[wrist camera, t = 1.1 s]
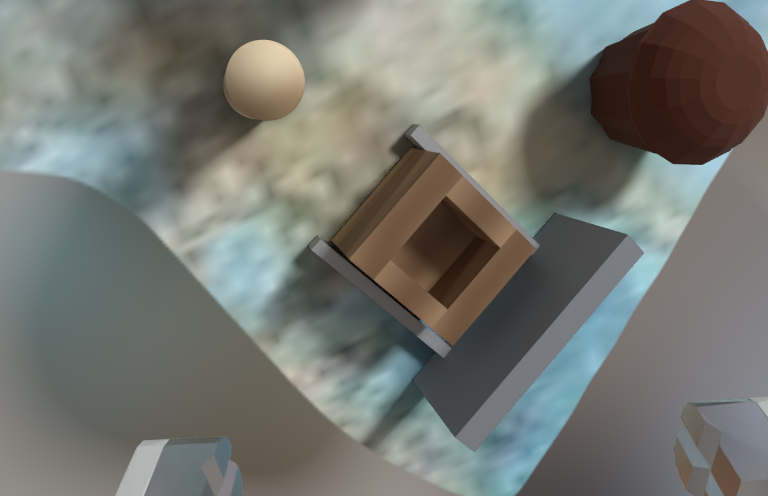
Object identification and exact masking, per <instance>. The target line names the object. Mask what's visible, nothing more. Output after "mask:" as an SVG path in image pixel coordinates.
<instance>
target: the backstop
mask: <svg viewBox="0 0 768 496" xmlns="http://www.w3.org/2000/svg"><path fill="white" fill-rule="evenodd" d="M404 135H405V136H406V137H407V138H408V139H409V140H410V141H411V142H412V143H413V144H414V145H415V146H416V147H417V148H418V149H420V150H425V151H431V152H437V153H441V154H442V155H443V156H444V157H445V158H446V159H447V160H448V161H449V162H450V163H451V164H452V165H453V166H454V167H455V168H456V169H457V170H458V171H459V172H460V173H461V174H462V175H463V176H464V177H465V178H466V179H467V180H468V181H469V182H470V183H471V184H472V185H473V186H474V187H475V188H476V189H477V190H478V191H479V192H480V193H481V194H482V195H483V196H484V197H485V198H486V199H487V200H488V201H489V202H490V203H491V204H492V205H493V206H494V207H495V208H496V209H497V210H498V211H499V212H500V213H501V214H502V215H503V216H504V217H505V218H506V219H507V220H508V221H509V222H510V223H511V224H512V225H513V226H514V227H515V228H516V229H517V230H518V231H519V232H520V233H521V234H522V235H523V236H524V237H525V238H526V239H527V240H528V241H529V242H530V243H531V244H532V245H533V246H534V247H535V248H536V250H535V251H534V252H533V253H532V254H531V255H530V257H529V258H528V259H527V260H526V261H525V262H524V264H523V265H522V266H521V267H520V268H519V269H518V271H517V272H516V273H515V274H514V275H513V276H512V278H511V279H510V280H509V281H508V282H507V283H506V285H505V286H504V287H503V288H502V289H501V290H500V292H499V293H498V294H497V295H496V296H495V297H494V299H493V300H492V301H491V302H490V303H489V304H488V306H487V307H486V308H485V309H484V310H483V311H482V313H481V314H480V315H479V316H478V317H477V318H476V320H475V321H474V322H473V323H472V324H471V326H470V327H469V328H468V329H467V330H466V331H465V333H464V334H463V335H462V336H461V337H460V338H459V340H458V341H457V342H456V343H455V344H454V345H453V346H452V345H451V344H450V343H449V342H447V341H443V340H442V339H441V338H440V337H439V336H437V335H436V334H435V333H434V332H433V331H431V330H430V329H429V328H428V327H427V326H425V325H424V324H423V323H422V322H421V321H419V320H418V319H417V318H416V317H415V316H413V315H412V314H411V313H410V312H409V311H407V310H406V309H405V308H404V307H403V306H401V305H400V304H399V303H398V302H397V301H395V300H394V299H393V298H392V297H391V296H389V295H388V294H387V293H386V292H385V291H383V290H382V289H381V288H380V287H379V286H377V285H376V284H375V283H374V282H373V281H371V280H370V279H369V278H368V277H367V276H365V275H364V274H363V273H362V272H361V271H359V270H358V269H357V268H356V267H355V266H353V265H352V264H351V263H350V262H349V261H347V260H346V259H345V258H344V257H343V256H341V255H340V254H339V253H338V252H337V251H335V250H334V249H333V248H332V247H331V246H329V245H328V244H327V243H326V242H325V241H323V240H322V239H321V238H320V237H319V236H316V237H315V238H314V240H313V241H312V242H311V243H310V244H309V245H308V246H309V247H310V249H311V250H312V251H313V252H314V253H316V254H317V255H318V256H319V257H320V258H322V259H323V260H324V261H325V262H327V263H328V264H329V265H330V266H331V267H333V268H334V269H335V270H336V271H338V272H339V273H340V274H341V275H342V276H344V277H345V278H346V279H347V280H349V281H350V282H351V283H352V284H354V285H355V286H356V287H357V288H358V289H360V290H361V291H362V292H363V293H365V294H366V295H367V296H368V297H369V298H371V299H372V300H373V301H374V302H376V303H377V304H378V305H379V306H380V307H382V308H383V309H384V310H385V311H387V312H388V313H389V314H390V315H391V316H393V317H394V318H395V319H396V320H398V321H399V322H400V323H401V324H402V325H404V326H405V327H406V328H407V329H409V330H410V331H411V332H412V333H413V334H415V335H416V336H417V337H418V338H420V339H421V340H422V341H423V342H424V343H426V344H427V345H428V346H429V347H431V348H432V349H433V350H434V351H435V352H436V353H435V354H434V355H433V356H432V357H431V359H430V360H429V361H428V362H427V363H426V364H425V366H424V367H423V368H422V369H421V370H420V371H419V373H418V374H417V375H416V376H415V377H414V378H413V381H414V383H415V384H416V386H417V387H418V388H419V390H420V391H421V392H422V394H423V395H424V396H425V398H426V399H427V400H428V402H429V403H430V404H431V406H432V407H433V408H434V410H435V411H436V412H437V414H438V415H439V417H440V418H441V419H442V421H443V422H444V423H445V425H446V426H447V427H448V429H449V430H450V431H451V433H452V434H453V435H454V437H455V438H456V439H458V440H459V441H460V442H462V443H463V444H464V445H466V446H467V447H468V448H470V449H471V450H472V451H474V452H475V451H476V450H477V449H478V447H479V446H480V445H481V444H482V443H483V441H484V440H485V439H486V438H487V437H488V436H489V434H490V433H491V432H492V431H493V430H494V429H495V427H496V426H497V425H498V424H499V423H500V422H501V420H502V419H503V418H504V417H505V416H506V414H507V413H508V412H509V411H510V410H511V409H512V407H513V406H514V405H515V404H516V403H517V402H518V400H519V399H520V398H521V397H522V396H523V395H524V393H525V392H526V391H527V390H528V389H529V387H530V386H531V385H532V384H533V383H534V382H535V380H536V379H537V378H538V377H539V376H540V375H541V373H542V372H543V371H544V370H545V369H546V368H547V366H548V365H549V364H550V363H551V362H552V360H553V359H554V358H555V357H556V356H557V355H558V353H559V352H560V351H561V350H562V349H563V348H564V346H565V345H566V344H567V343H568V342H569V341H570V339H571V338H572V337H573V336H574V335H575V333H576V332H577V331H578V330H579V329H580V328H581V326H582V325H583V324H584V323H585V322H586V321H587V319H588V318H589V317H590V316H591V315H592V313H593V312H594V311H595V310H596V309H597V308H598V306H599V305H600V304H601V303H602V302H603V301H604V299H605V298H606V297H607V296H608V295H609V294H610V292H611V291H612V290H613V289H614V288H615V286H616V285H617V284H618V283H619V282H620V281H621V279H622V278H623V277H624V276H625V275H626V274H627V272H628V271H629V270H630V269H631V268H632V267H633V265H634V264H635V263H636V262H637V261H638V259H639V258H640V257H641V256H642V255H643V254H644V252H643V251H642V250H641V249H640V248H639V246H638V245H637V244H636V243H635V242H634V241H633V240H632V239H631V237H630V236H629V235H627V234H624V233H621V232H617V231H614V230H610V229H607V228H604V227H600V226H597V225H593V224H590V223H587V222H583V221H580V220H576V219H573V218H570V217H566V216H563V215H559V214H556V213H555V214H554V215H553V216H552V217H551V218H550V219H549V221H548V222H547V223H546V224H545V225H544V226H543V228H542V229H541V230H540V231H539V232H538V233H537V235H536V236H535V237H534V238H532V237H531V236H530V235H529V234H528V233H527V232H526V231H525V230H524V229H523V228H522V227H521V226H520V225H519V224H518V223H517V222H516V221H515V220H514V219H513V218H512V217H511V216H510V215H509V214H508V213H507V212H506V211H505V210H504V209H503V208H502V207H501V206H500V205H499V204H498V203H497V202H496V201H495V200H494V199H493V198H492V197H491V196H490V195H489V194H488V193H487V192H486V191H485V190H484V189H483V188H482V187H481V186H480V185H479V184H478V183H477V182H476V181H475V180H474V179H473V178H472V177H471V176H470V175H469V174H468V173H467V172H466V171H465V170H464V169H463V168H462V167H461V166H460V165H459V164H458V163H457V162H456V161H455V160H454V159H453V158H452V157H451V156H450V155H449V154H448V153H447V152H446V151H445V150H444V149H443V148H442V147H441V146H440V145H439V144H438V143H437V142H436V141H435V140H434V139H433V138H432V137H431V136H430V135H429V134H428V133H427V132H426V131H425V130H424V128H423V127H422V126H421V125H417V124H413V125H412V126H411V127H410V128H409V129H408V131H407V132H406V133H405V134H404Z"/></svg>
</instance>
